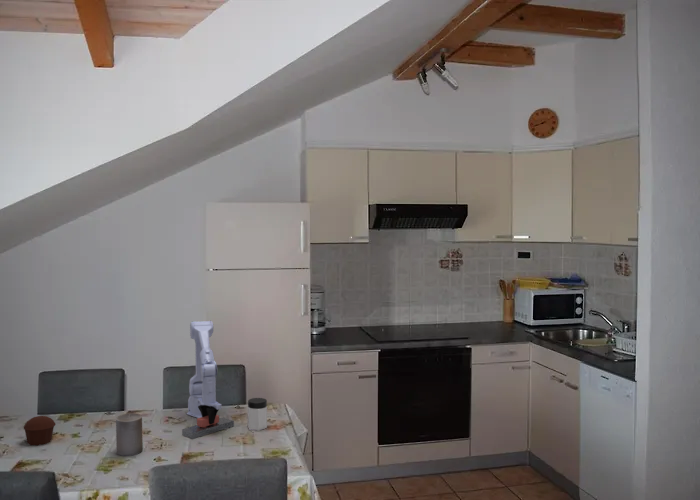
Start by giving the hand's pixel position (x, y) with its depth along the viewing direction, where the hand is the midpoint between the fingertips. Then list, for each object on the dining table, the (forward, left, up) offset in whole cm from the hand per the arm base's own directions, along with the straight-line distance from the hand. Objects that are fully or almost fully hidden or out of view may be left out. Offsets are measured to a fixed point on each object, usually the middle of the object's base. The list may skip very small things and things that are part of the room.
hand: (208, 422), depth 279 cm
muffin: (-39, -54, -4) cm, 67 cm away
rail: (0, 0, -3) cm, 3 cm away
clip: (0, 0, -2) cm, 3 cm away
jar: (+12, +17, -4) cm, 21 cm away
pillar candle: (-3, -36, -4) cm, 36 cm away
